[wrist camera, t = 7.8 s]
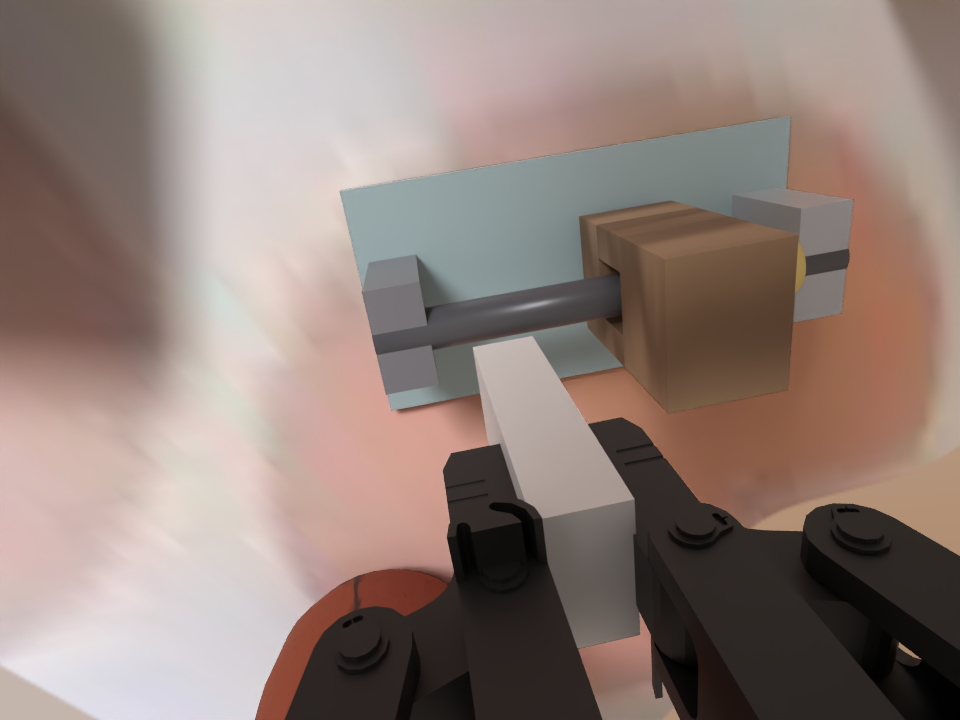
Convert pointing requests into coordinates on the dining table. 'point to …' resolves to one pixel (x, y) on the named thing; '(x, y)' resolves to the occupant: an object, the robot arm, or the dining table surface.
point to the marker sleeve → (695, 301)
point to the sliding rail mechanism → (559, 248)
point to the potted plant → (359, 592)
